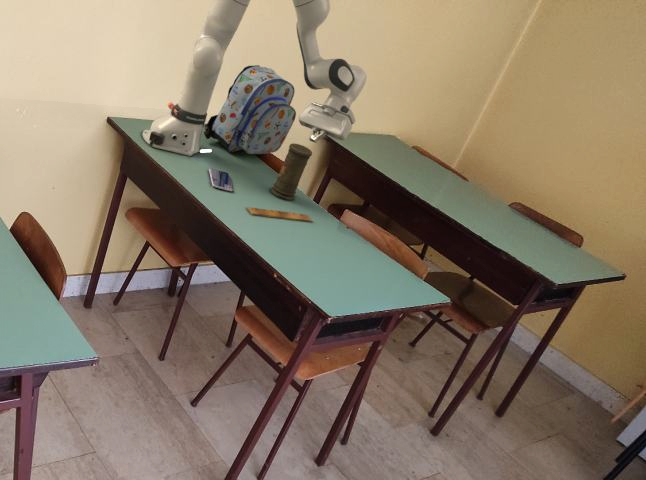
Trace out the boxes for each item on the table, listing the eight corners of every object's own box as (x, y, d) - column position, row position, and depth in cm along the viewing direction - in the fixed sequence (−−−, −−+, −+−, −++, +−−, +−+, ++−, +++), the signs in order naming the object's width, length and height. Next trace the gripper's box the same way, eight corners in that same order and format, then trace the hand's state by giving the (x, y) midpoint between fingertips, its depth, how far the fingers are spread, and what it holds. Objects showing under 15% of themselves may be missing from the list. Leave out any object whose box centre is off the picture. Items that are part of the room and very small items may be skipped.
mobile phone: (228, 172, 223) (233, 190, 211) (228, 174, 223) (232, 192, 212) (209, 167, 221) (212, 184, 209) (208, 169, 222) (212, 187, 210)
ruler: (251, 214, 202) (252, 212, 202) (247, 208, 205) (248, 206, 204) (311, 222, 212) (312, 220, 211) (306, 216, 215) (307, 214, 214)
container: (293, 193, 228) (312, 148, 217) (293, 203, 221) (313, 156, 210) (270, 186, 227) (289, 140, 217) (270, 195, 220) (289, 148, 209)
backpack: (243, 167, 234) (272, 85, 216) (195, 138, 245) (220, 57, 226) (288, 159, 257) (318, 84, 239) (243, 133, 268) (269, 59, 249)
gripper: (309, 96, 225) (287, 127, 225) (355, 112, 214) (332, 145, 214) (313, 106, 230) (293, 137, 231) (359, 122, 219) (337, 154, 220)
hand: (312, 141), depth 222 cm, fingers closed
